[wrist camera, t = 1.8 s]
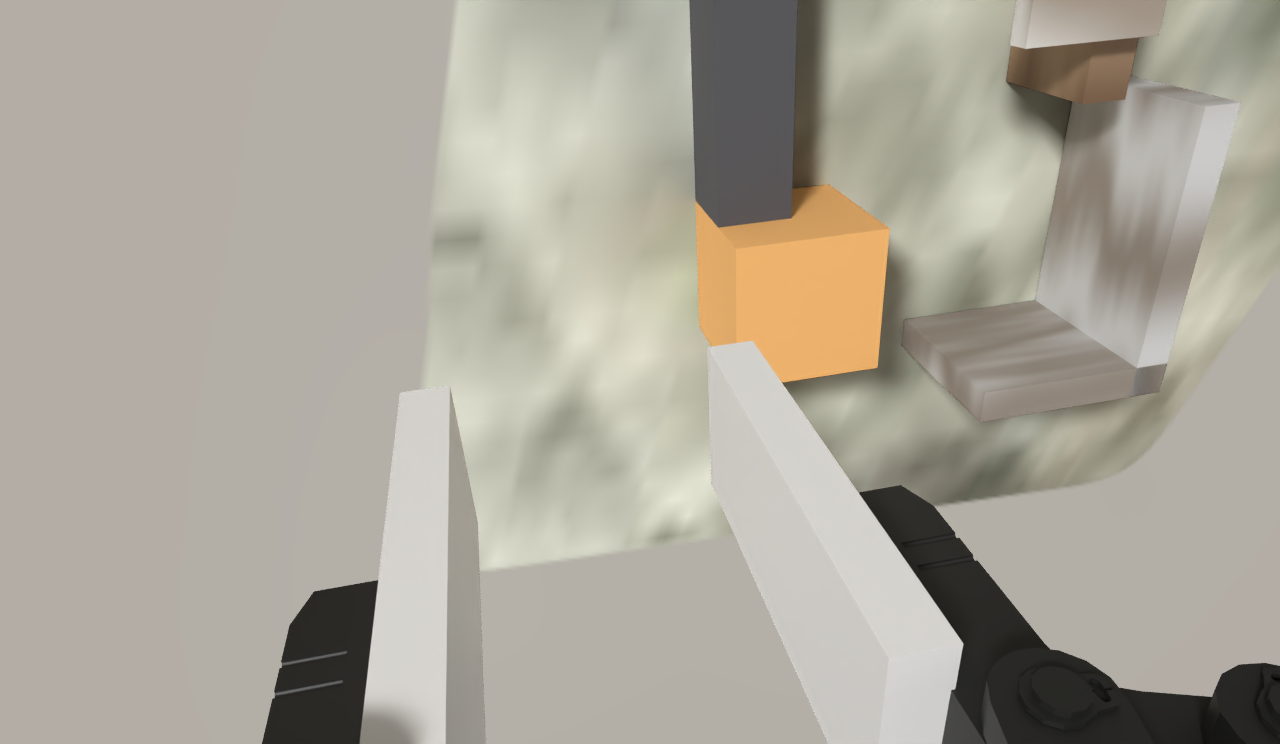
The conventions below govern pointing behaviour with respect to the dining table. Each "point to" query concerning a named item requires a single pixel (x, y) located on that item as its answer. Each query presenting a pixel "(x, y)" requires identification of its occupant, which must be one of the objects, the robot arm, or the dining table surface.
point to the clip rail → (1093, 224)
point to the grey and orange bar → (773, 207)
